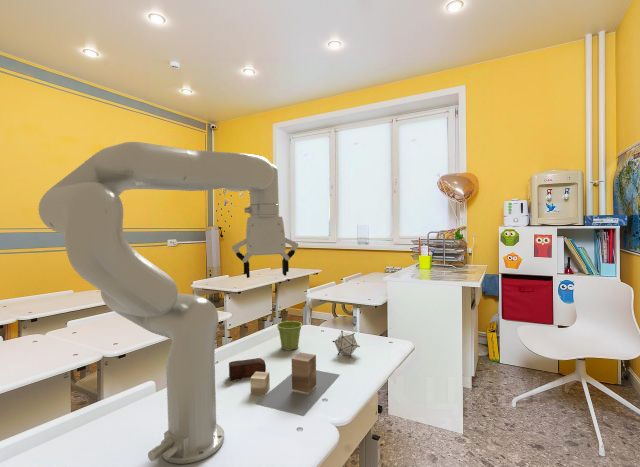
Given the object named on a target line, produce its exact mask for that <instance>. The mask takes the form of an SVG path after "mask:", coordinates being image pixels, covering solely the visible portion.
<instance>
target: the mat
mask: <svg viewBox="0 0 640 467" xmlns="http://www.w3.org/2000/svg"><path fill="white" fill-rule="evenodd" d="M340 376H341V374H339V373H334V372H333V373H332V372H328V371H322V370H317V369H316V387H315V388H314V389H313V390H312V392H311V393H310V394H309V395H308V394H303V393H299V392H294V391H292V373H291V374H289V375H288V376H287V377H285V379H283V380H282V381H281V382H280V383H279V384H278V385H276V386H275V387H273V388H272V389H271V390H269V391H268V392H267V393H266V395H265V396H263V397H262V398H260V399H259V400H258V401H257V402H256V403H255V405H257V406H261V407H266V408H270V409H273V410H274V409H275V410H278V411H283V412H286V413H290V414H294V415H298V416H302V417H304V416H306V414H307V413H308V412H309V411H310V410H311V409H312V408H313V407H314V405H315V404H316V403H317V402H318V401H319V400H320V399H321V398H322V396H323V395H324V394H325V393H326V392H327V390H328V389H329V388H330V387H331V386H332V385H333V384H334V383H335V381H336V380H337V379H338V378H339V377H340Z"/></svg>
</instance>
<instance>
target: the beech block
mask: <svg viewBox="0 0 640 467" xmlns="http://www.w3.org/2000/svg"><path fill="white" fill-rule="evenodd" d="M270 389H271V386H270V371H268V372H267V371H265V372H255V373H254V374H253V376H252V377H250V395H251V396H252V395H253V396H263V397H264V396H265V395H266V394H268V393H269V391H270Z"/></svg>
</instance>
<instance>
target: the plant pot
mask: <svg viewBox="0 0 640 467" xmlns="http://www.w3.org/2000/svg"><path fill="white" fill-rule="evenodd" d="M302 327H303V323H302V322H301V321H295V320H287V321H285V320H284V321H281V322H278V323H276V328H277V330H278V333H279V339H280V346H281V349H283V350H285V351H292V350H296V349H298V348H299V343H300V342H299V341H300V335H301V334H300V333H301V329H302Z"/></svg>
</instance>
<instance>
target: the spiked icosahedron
mask: <svg viewBox="0 0 640 467" xmlns="http://www.w3.org/2000/svg"><path fill="white" fill-rule="evenodd" d="M355 334H356V333H355V332H353V333H347V332H344V331H343V330H341V333H340V334H339V336H338V337H337V338H336V339H335V340H332V343H334V345H335V347H336V349H337V351H338V353H337V356H339V355H340V354H341V355H344V356H349V358H352V354H354V352H355V351H356V349H357V348H360V347H361V346H360V345H358V343H357V340H356V337H355V336H354V335H355Z"/></svg>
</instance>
